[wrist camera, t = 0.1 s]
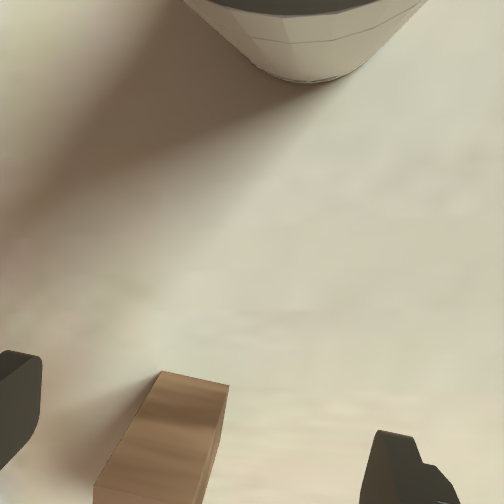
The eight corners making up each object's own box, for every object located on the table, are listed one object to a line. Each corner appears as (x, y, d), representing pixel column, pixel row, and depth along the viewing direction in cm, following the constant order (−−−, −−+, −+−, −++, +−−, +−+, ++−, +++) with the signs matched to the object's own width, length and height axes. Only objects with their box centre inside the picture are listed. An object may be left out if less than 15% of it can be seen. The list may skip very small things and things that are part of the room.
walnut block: (162, 370, 31) (93, 484, 21) (229, 385, 30) (190, 508, 21) (155, 427, 32) (88, 559, 23) (219, 442, 32) (179, 582, 22)
